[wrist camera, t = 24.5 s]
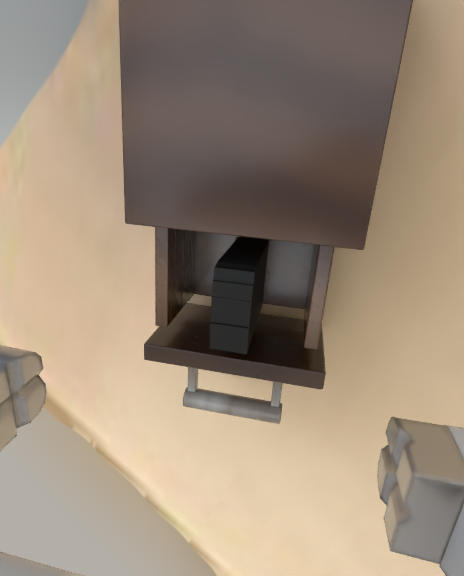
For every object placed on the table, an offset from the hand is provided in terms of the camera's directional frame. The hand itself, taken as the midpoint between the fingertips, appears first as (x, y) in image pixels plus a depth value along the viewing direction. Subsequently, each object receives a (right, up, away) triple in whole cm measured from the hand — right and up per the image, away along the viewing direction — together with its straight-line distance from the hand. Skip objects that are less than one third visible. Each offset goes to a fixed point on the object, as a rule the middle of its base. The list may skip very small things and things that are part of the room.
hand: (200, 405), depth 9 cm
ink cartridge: (+2, +4, +19) cm, 20 cm away
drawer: (+2, +4, +20) cm, 21 cm away
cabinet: (+3, +15, +17) cm, 23 cm away
